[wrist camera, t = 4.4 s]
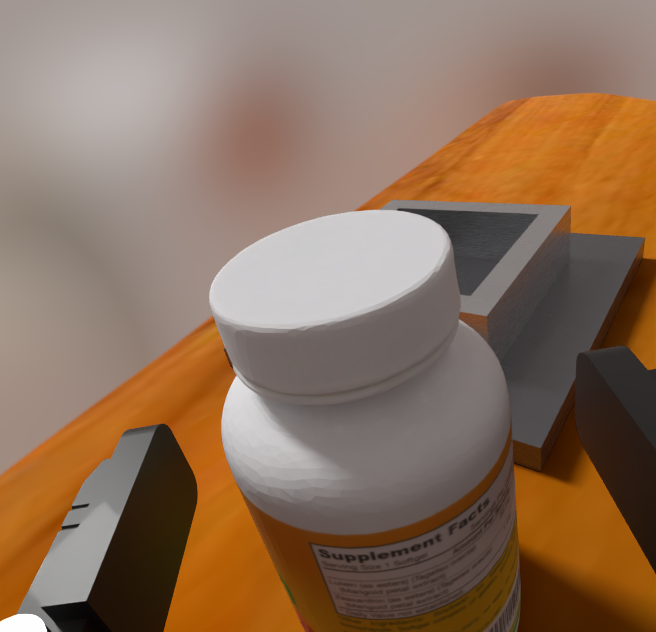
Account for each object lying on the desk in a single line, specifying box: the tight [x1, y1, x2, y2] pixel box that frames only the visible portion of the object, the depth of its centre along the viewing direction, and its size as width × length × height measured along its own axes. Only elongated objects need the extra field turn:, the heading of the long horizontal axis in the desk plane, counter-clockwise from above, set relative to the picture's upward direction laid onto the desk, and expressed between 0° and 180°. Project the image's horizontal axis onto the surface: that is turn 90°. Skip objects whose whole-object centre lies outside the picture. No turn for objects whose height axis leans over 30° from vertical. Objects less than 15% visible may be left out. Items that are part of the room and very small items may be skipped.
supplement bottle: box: [209, 210, 521, 632], centre depth 11 cm, size 5×5×10 cm
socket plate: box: [224, 200, 645, 472], centre depth 23 cm, size 14×14×4 cm
